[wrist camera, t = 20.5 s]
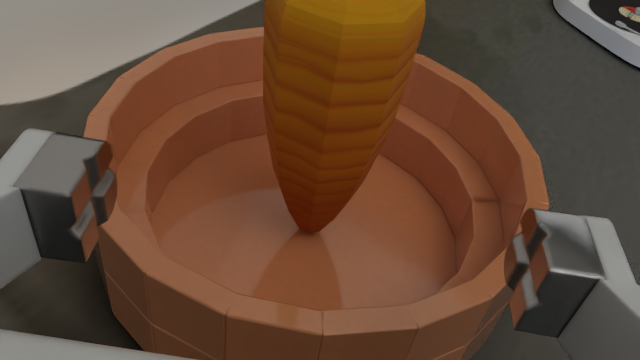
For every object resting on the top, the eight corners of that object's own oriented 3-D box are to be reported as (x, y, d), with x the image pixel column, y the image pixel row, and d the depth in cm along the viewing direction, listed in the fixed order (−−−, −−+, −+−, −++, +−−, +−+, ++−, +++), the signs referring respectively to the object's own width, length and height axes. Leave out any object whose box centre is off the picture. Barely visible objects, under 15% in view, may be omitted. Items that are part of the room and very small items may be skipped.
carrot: (317, 175, 27) (378, -201, 17) (391, 243, 25) (513, -154, 15) (226, 216, 24) (236, -200, 14) (298, 297, 22) (370, -142, 12)
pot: (2, 285, 21) (-41, 175, 18) (245, 85, 33) (248, -7, 29) (422, 529, 17) (480, 449, 13) (531, 200, 29) (578, 109, 25)
